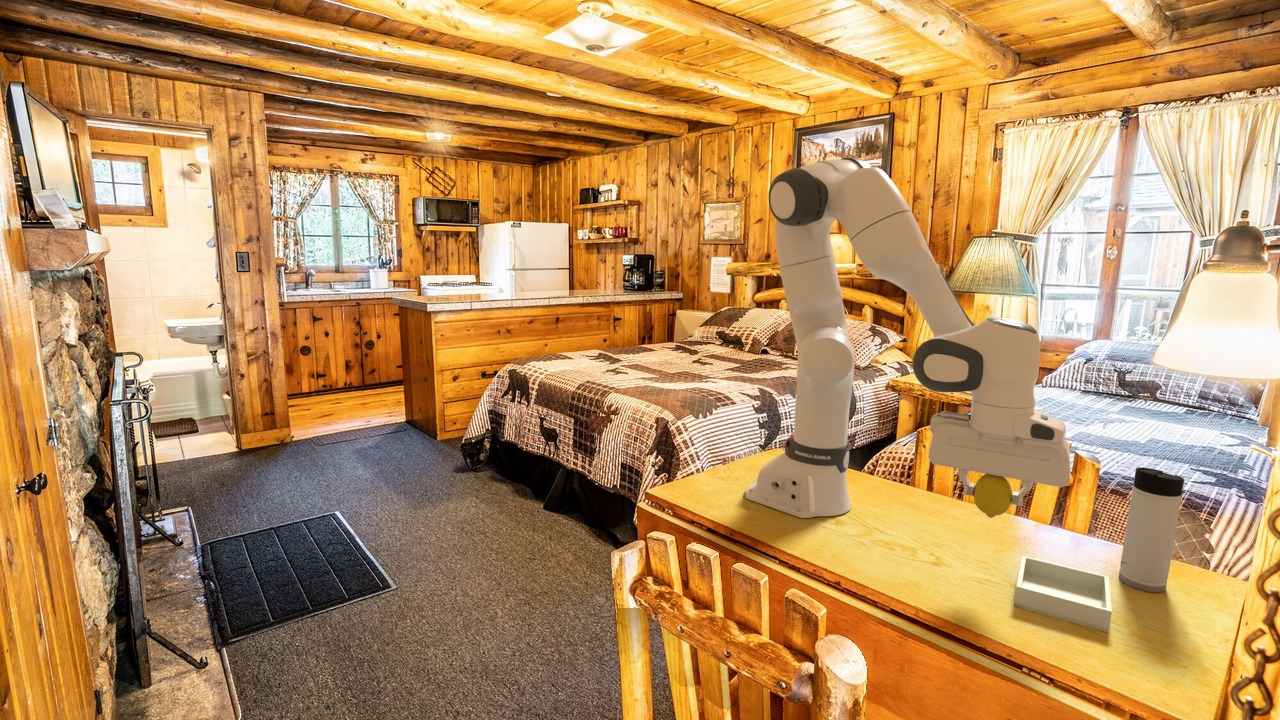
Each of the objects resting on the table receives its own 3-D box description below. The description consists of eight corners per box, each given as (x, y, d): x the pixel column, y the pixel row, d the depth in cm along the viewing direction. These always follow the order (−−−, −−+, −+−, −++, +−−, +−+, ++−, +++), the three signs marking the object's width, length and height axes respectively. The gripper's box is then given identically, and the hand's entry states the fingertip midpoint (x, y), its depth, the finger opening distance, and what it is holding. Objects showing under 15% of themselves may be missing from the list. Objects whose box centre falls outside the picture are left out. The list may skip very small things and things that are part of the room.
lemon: (1014, 526, 102) (1019, 479, 101) (977, 523, 103) (981, 476, 102) (1002, 512, 107) (1007, 467, 106) (967, 509, 109) (971, 465, 107)
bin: (1014, 606, 99) (1016, 586, 99) (1020, 573, 109) (1022, 555, 108) (1108, 632, 93) (1111, 611, 92) (1105, 595, 102) (1108, 576, 102)
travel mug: (1109, 578, 107) (1126, 466, 104) (1132, 570, 110) (1149, 461, 106) (1150, 597, 102) (1170, 479, 98) (1174, 588, 105) (1194, 473, 101)
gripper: (927, 413, 105) (921, 491, 108) (1075, 434, 94) (1064, 521, 96) (935, 405, 111) (928, 480, 113) (1076, 424, 99) (1065, 506, 102)
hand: (992, 499), depth 105 cm, fingers closed on lemon, 5 cm apart
